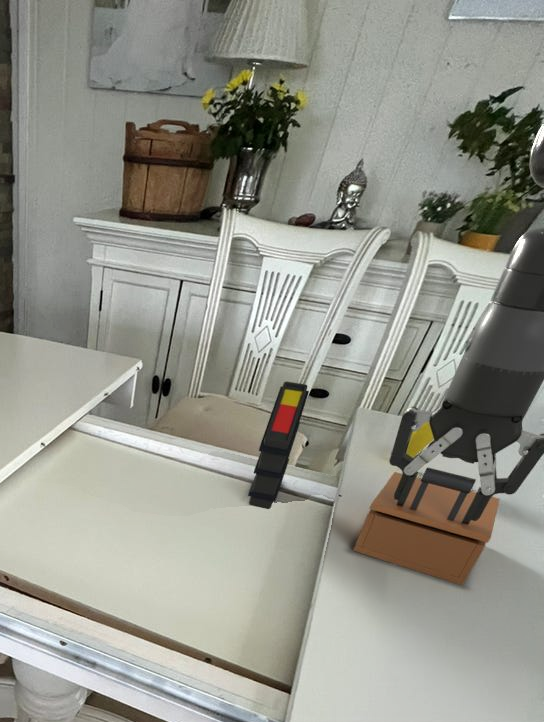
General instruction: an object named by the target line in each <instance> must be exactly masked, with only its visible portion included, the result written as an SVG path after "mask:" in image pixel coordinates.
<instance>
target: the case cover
mask: <svg viewBox="0 0 544 722" xmlns="http://www.w3.org/2000/svg"><path fill="white" fill-rule="evenodd" d="M402 474H403V473H400V472H396V471H394V472H393V473H392V474H391V476H390V477H389V479H388V480H387V482H386V483H385V484H384V486H383V487H382V489H381V490H380V491H379V492H378V494H377V496H376V497H375V498H374V499H373V501H372V502H371V504H370V505H369V510H371V509H372V510H375V511H379V512H382V513H386V514H389V515H393V516H396V517H400V518H403V519H407V520H410V521H414V522H417V523H421V524H424V525H428V526H431V527H435V528H438V529H442V530H445V531H449V532H452V533H456V534H459V535H462V536H466V537H469V538H473V539H476V540H480V541H483V542H486V543H489V542H490V540H491V538H492V534H493V530H494V525H495V522H496V517H497V512H498V508H499V503H500V498H499V497H494V496H492V497H491V498H490V500H489V502H488V504H487V506H486V507H485V509H484V511H483V513H482V515H481V517H480V518H479V519H478V520H477V521H473V520H471V521H470V523H469V524H468V525H467V524H464V523H462V520H463V517H464V515H465V513H466V512H467V510H468V508H469V506H470V504H471V502H472V500H473V498H474V496H475V494H476V492H475V491H472V490H473V487H474V485H475V483H476V481H477V479H476V478H472V477H468V476H465V475H460V474H456V473H452V472H447V471H443V470H439V469H436V468H432V467H426V469H425V471H424V472H423V475H422V477H421V478H420V477H418V476H417V477H416V479H415V482H414V484H413V486H412V488H411V490H410V493H409V495H408V497H407V499H406V501H405V503H404V505H403V507H402V506H398V505H397V502H398V500H396V499H394V493H395V491H396V489H397V486H398V484H399V482H400V479H401V477H402Z"/></svg>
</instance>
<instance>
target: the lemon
mask: <svg viewBox="0 0 544 722" xmlns="http://www.w3.org/2000/svg"><path fill="white" fill-rule="evenodd" d="M433 440H434V438H433V434H432V431H431V427H430V424H429V422H426V423H424V424H422V426H421V428H420V429H419V430H418V431H413V432H412V435H411V439H410V442H409V445H408V449H407V452H406V454H408V455H409V456H411V457H412V458H413V457H414V456H416V455H417V454H418V453H419V452H420V451H422V450H423V449H424V448H425V447H426V446H427V445H428V444H429V443H430V442H431V441H433Z"/></svg>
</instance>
